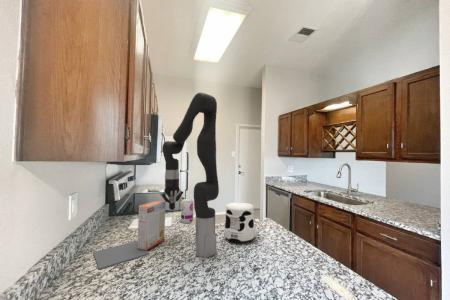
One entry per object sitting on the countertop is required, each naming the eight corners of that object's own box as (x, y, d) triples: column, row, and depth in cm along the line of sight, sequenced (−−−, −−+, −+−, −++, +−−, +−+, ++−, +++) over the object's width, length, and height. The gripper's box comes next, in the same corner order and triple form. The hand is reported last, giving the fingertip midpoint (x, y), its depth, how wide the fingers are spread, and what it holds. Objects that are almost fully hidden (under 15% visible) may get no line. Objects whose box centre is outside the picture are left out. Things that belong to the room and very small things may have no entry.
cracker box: (155, 238, 112) (157, 200, 113) (164, 240, 109) (166, 201, 111) (136, 248, 98) (138, 204, 100) (146, 251, 96) (148, 206, 97)
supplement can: (195, 220, 143) (195, 198, 144) (190, 224, 135) (190, 201, 136) (184, 219, 146) (184, 198, 146) (178, 223, 138) (179, 200, 138)
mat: (149, 254, 94) (149, 253, 94) (99, 269, 82) (99, 268, 82) (137, 241, 108) (137, 240, 108) (93, 253, 96) (93, 251, 96)
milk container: (248, 231, 123) (248, 201, 124) (260, 243, 107) (260, 208, 107) (220, 233, 119) (220, 202, 119) (229, 246, 102) (229, 210, 103)
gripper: (163, 179, 105) (163, 213, 104) (186, 177, 113) (186, 209, 113) (157, 178, 111) (157, 210, 110) (180, 176, 119) (180, 206, 119)
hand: (172, 209), depth 112 cm, fingers closed
